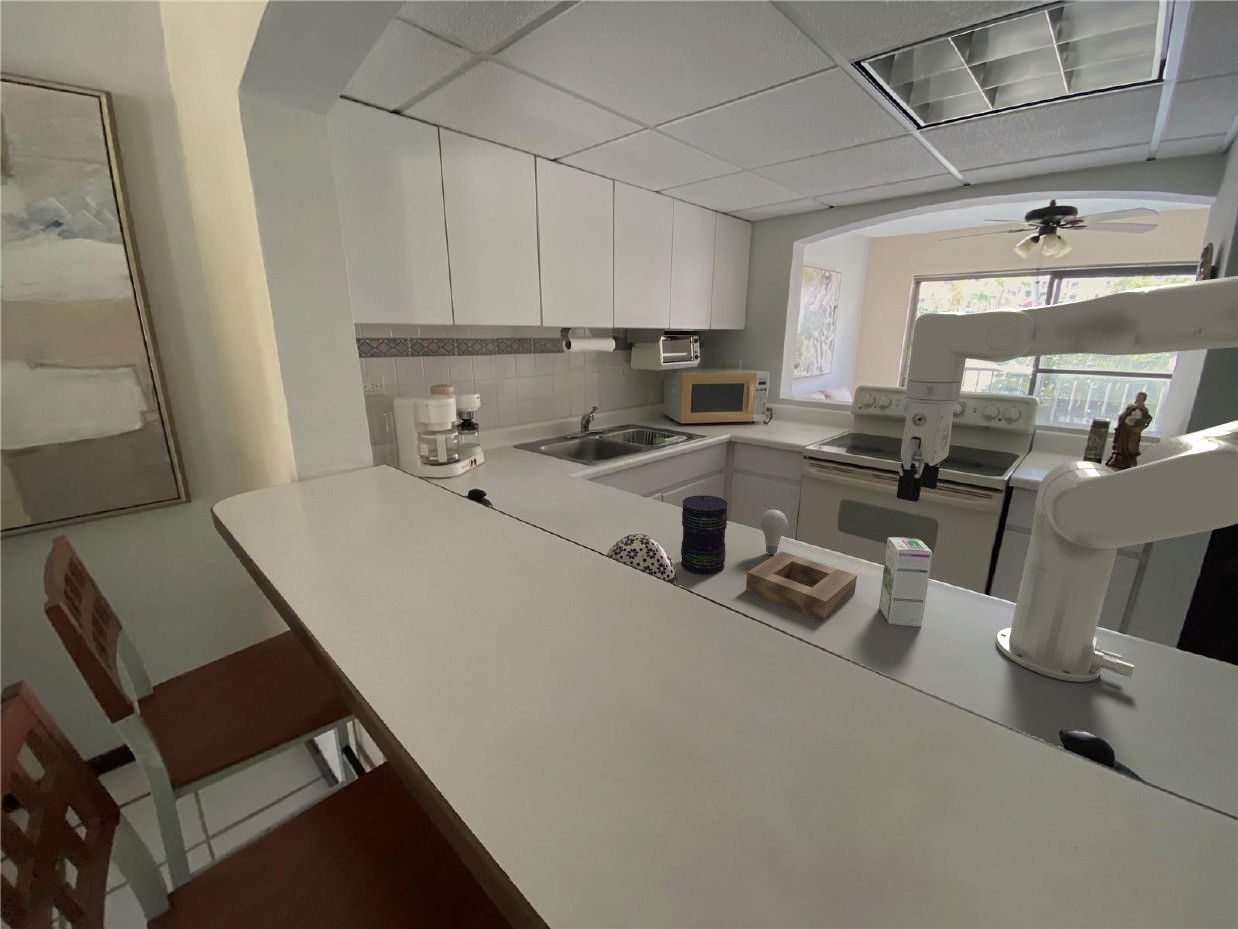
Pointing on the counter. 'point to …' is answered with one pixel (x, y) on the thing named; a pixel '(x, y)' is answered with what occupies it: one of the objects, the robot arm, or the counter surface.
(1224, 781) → the counter surface
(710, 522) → the storage jar
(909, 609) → the syrup box
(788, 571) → the holder block
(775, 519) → the lightbulb
